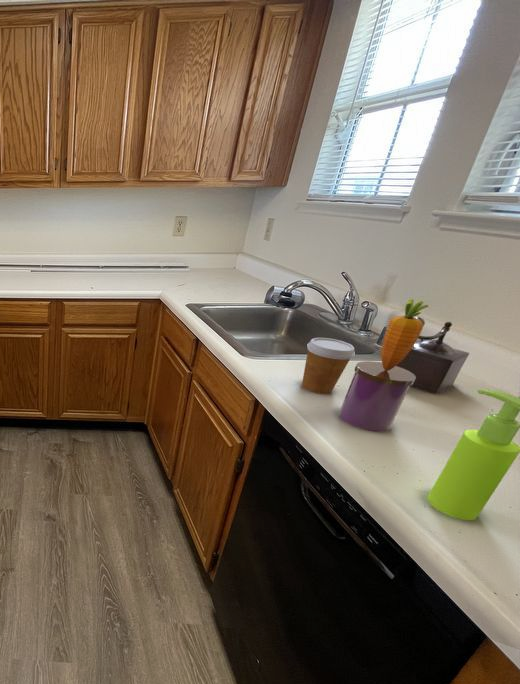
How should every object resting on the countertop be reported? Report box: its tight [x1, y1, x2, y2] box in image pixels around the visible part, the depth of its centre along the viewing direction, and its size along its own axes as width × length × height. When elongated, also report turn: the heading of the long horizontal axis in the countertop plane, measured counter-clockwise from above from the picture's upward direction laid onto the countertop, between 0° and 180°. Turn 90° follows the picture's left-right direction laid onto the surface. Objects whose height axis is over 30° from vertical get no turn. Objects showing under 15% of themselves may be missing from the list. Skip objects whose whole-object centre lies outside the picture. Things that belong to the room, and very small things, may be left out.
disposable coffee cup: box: [301, 337, 356, 395], centre depth 102 cm, size 10×10×12 cm
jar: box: [338, 360, 416, 433], centre depth 88 cm, size 10×10×12 cm
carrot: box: [380, 298, 429, 371], centre depth 82 cm, size 5×5×15 cm
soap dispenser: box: [426, 388, 520, 521], centre depth 63 cm, size 6×7×20 cm
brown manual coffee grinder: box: [396, 315, 470, 395], centre depth 103 cm, size 16×11×18 cm
